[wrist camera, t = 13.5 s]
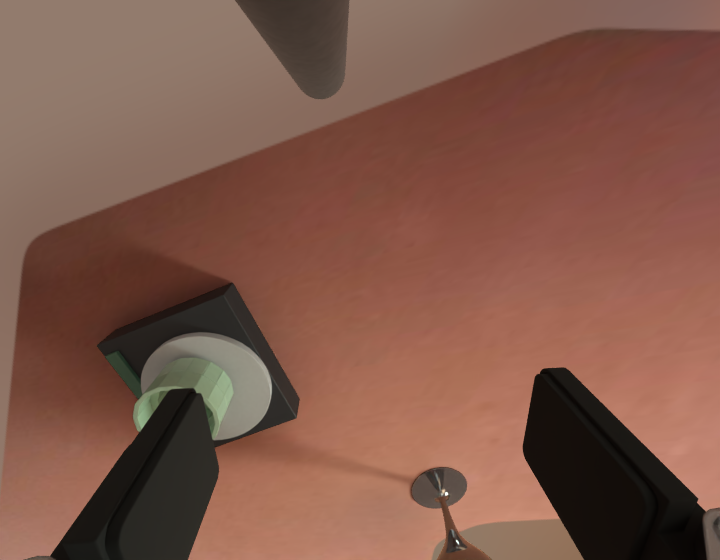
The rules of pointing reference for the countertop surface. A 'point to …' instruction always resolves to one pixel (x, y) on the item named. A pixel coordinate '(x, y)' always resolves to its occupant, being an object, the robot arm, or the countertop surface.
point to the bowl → (188, 375)
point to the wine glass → (446, 509)
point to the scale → (209, 358)
